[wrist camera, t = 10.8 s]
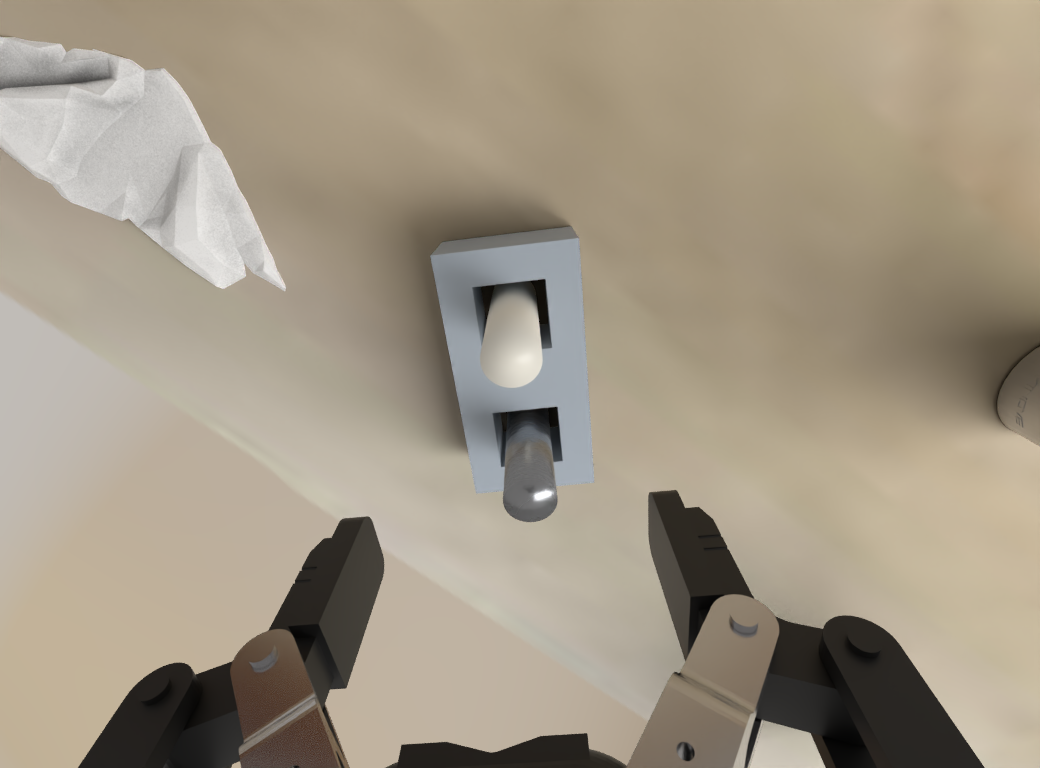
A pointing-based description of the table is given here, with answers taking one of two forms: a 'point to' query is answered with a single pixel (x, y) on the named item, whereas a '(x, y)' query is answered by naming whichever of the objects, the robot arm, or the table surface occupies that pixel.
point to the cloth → (129, 154)
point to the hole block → (561, 341)
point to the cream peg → (512, 336)
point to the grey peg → (529, 466)
